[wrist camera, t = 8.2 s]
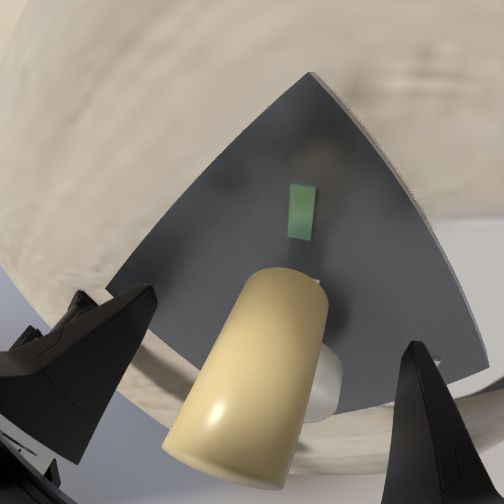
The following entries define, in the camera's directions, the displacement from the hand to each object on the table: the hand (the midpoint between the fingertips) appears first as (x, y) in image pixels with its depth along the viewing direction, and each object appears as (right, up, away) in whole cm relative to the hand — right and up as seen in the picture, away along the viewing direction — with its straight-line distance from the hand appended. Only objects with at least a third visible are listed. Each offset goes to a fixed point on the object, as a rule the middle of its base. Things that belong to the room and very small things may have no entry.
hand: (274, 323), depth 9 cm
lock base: (+2, -2, +9) cm, 9 cm away
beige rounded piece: (+1, -2, +5) cm, 5 cm away
